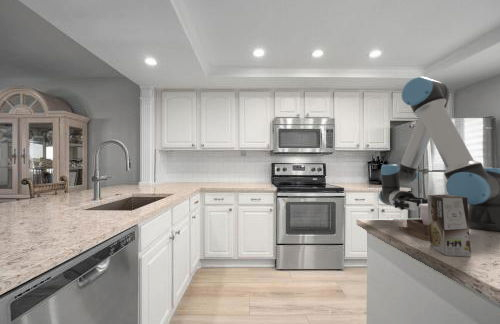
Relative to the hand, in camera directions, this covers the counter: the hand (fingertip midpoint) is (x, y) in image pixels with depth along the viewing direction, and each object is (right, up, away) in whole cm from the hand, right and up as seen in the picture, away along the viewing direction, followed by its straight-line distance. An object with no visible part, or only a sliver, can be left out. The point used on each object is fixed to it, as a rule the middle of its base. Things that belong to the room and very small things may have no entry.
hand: (435, 206), depth 89 cm
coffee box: (-7, -10, -16) cm, 20 cm away
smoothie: (0, -10, +3) cm, 10 cm away
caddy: (0, -11, +3) cm, 11 cm away
